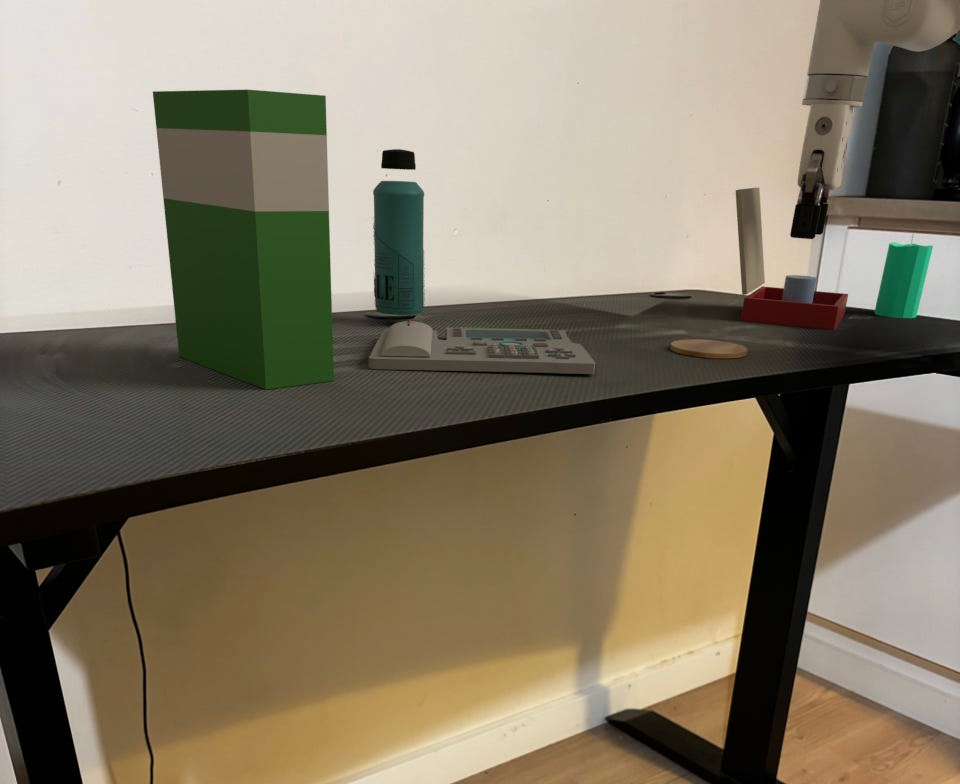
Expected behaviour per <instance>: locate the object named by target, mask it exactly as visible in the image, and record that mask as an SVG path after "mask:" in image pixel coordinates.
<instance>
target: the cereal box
mask: <svg viewBox="0 0 960 784" xmlns="http://www.w3.org/2000/svg"><path fill="white" fill-rule="evenodd" d="M152 98H153V99H152V100H153V108H154V118H155V128H156V138H157V148H158V157H159V158H158V160H159V169H160V170H159V171H160V179H161V180H160V181H161V189H162V198H163V199H162V200H163V209H164V218H165V219H164V220H165V229H166V239H167V249H168V260H169V269H170V279H171V289H172V298H173V310H174V318H175V329H176V339H177V347H178V348H177V349H178V357H179V358H182V359H185V360H187V361H190V362H192V363H194V364H198V365H200V366H203V367H205V368H208V369H210V370H212V371H213V370H214V371H216V372H219V373H222V374H224V375H227V376H228V377H229V376H230V377H232V378H235V379H237V380H240V381H242V382H244V383H247V384H250V385H252V386H256V387H258V388H259V389H260V388H261V389H263V390H265V391H266V390H273V389H280V388H282V389H283V388H287V387H288V388H290V387H297V386H304V385H311V384H320V383H326V382H334V381H335V376H334V375H335V374H334V373H335V371H334V340H333V339H334V337H333V305H332V301H333V300H332V299H333V298H332V271H331V235H330V234H331V233H330V231H331V230H330V199H329V196H330V195H329V167H328V132H327V131H328V130H327V128H328V127H327V95H325V94H324V95H323V94H322V95H321V94H311V93H310V94H309V93H298V92H297V93H296V92H284V91H273V90H271V91H270V90H269V91H268V90H257V89H210V90H209V89H207V90H206V89H205V90H204V89H203V90H160V91H155V90H154V91H153V90H152Z"/></svg>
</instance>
